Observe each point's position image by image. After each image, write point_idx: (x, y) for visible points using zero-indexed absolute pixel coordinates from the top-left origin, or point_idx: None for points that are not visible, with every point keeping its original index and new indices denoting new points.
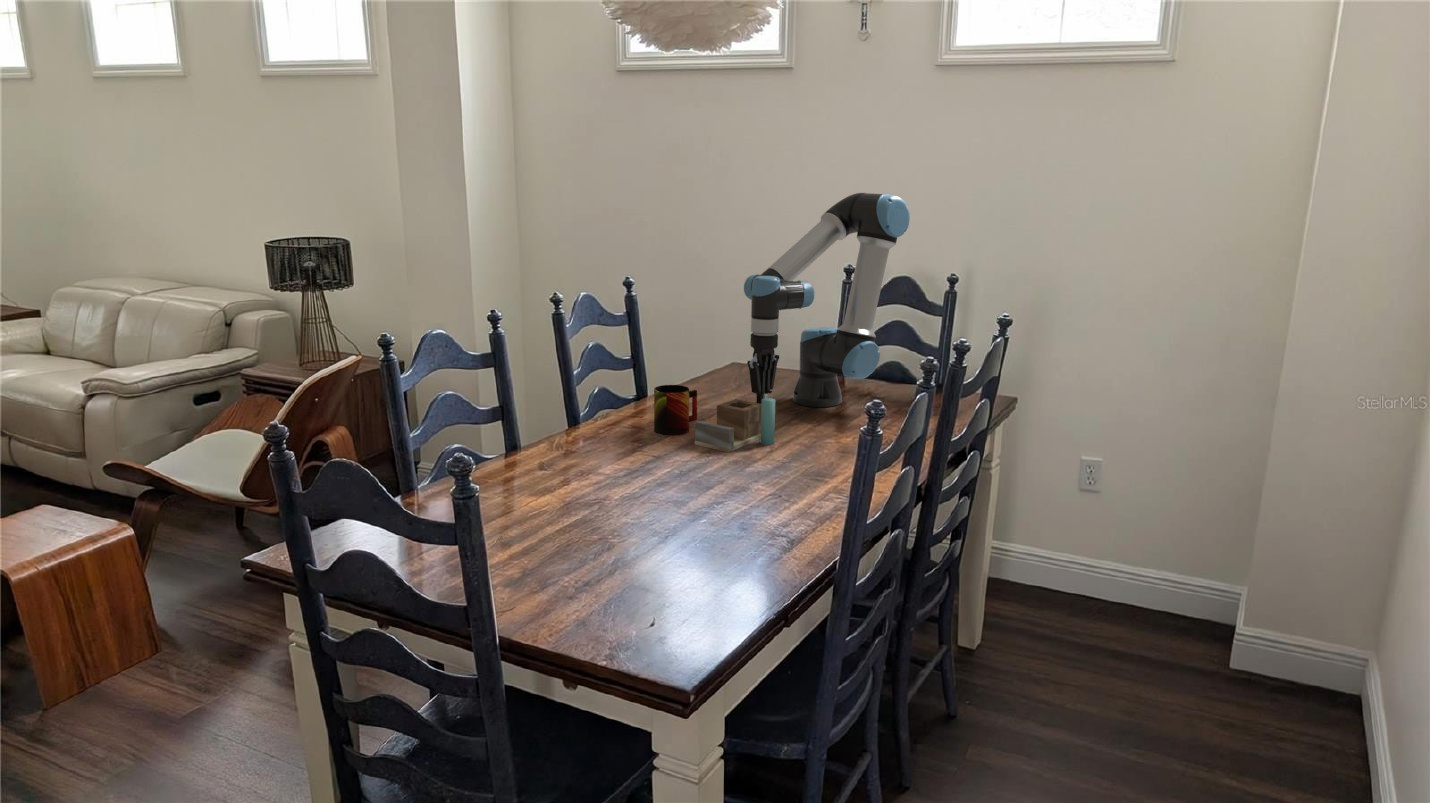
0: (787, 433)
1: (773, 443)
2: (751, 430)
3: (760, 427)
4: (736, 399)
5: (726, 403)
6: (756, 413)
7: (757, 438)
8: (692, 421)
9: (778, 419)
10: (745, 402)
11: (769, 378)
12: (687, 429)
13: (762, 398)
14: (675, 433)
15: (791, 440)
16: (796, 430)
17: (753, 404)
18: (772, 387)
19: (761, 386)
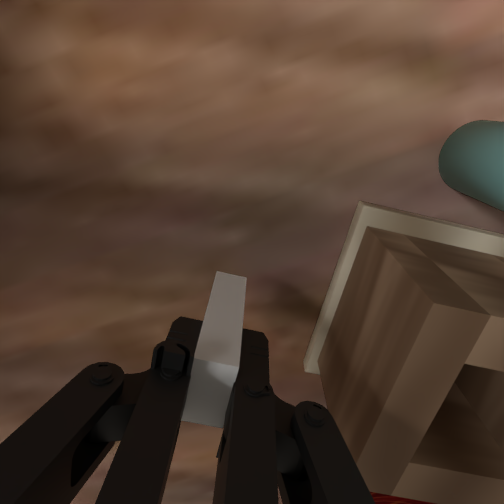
0: (257, 118)
1: (486, 120)
2: (484, 262)
3: (397, 241)
4: None
5: (477, 498)
6: (492, 295)
7: (440, 221)
8: None
9: (42, 246)
10: (416, 421)
11: (120, 485)
12: None
13: (244, 361)
14: None
15: (383, 46)
16: (178, 89)
17: (458, 362)
18: (103, 374)
19: (273, 454)
